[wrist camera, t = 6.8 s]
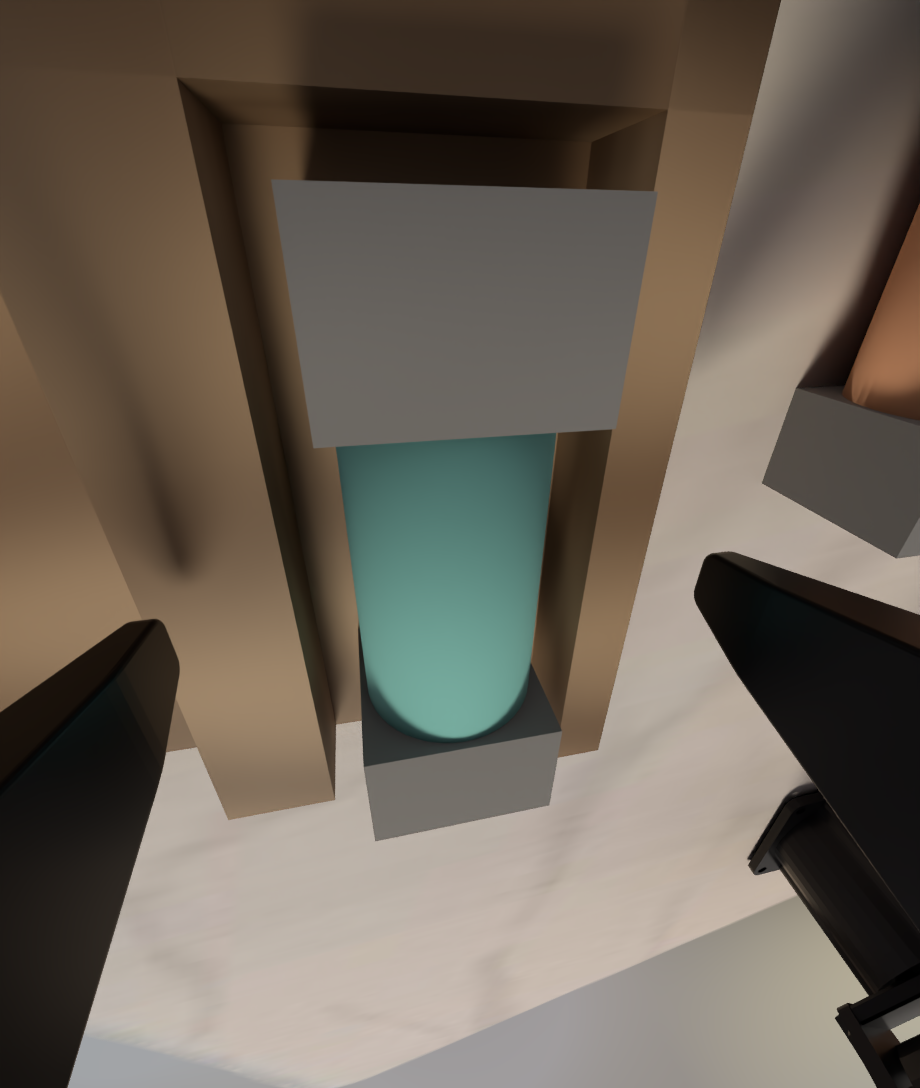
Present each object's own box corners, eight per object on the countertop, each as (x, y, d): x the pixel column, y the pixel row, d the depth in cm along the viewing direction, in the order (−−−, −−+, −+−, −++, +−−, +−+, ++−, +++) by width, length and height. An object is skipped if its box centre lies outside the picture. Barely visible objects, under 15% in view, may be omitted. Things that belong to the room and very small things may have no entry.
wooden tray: (558, 672, 15) (597, 750, 13) (-35, 765, 12) (-123, 886, 10) (654, 58, 8) (786, -22, 6) (-735, -62, 5) (-1662, -329, 3)
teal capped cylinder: (501, 677, 14) (549, 805, 11) (367, 698, 13) (375, 841, 10) (534, 213, 8) (658, 192, 5) (300, 208, 7) (271, 179, 4)
